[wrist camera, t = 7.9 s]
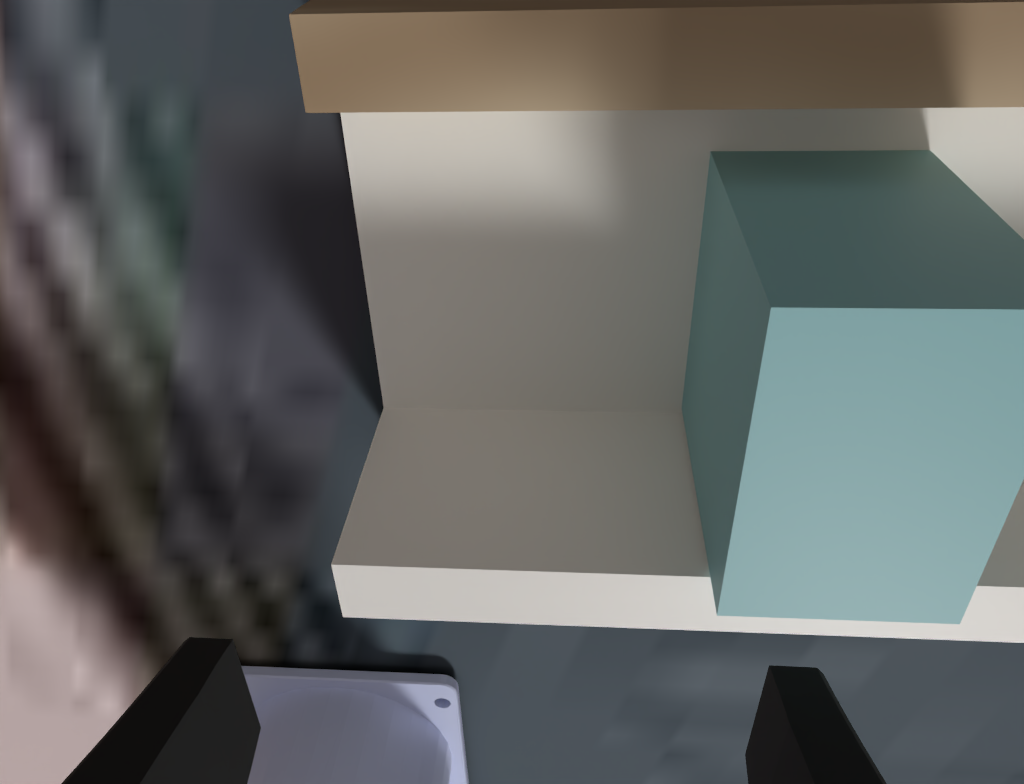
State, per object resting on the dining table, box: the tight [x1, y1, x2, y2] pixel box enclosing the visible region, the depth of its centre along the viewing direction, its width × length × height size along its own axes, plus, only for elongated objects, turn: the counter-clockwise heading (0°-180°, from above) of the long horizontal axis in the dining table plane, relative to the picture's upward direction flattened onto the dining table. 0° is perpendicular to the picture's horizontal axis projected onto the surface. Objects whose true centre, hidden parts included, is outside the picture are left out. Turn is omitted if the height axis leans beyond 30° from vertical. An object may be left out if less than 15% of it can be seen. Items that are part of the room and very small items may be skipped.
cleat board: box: [289, 0, 1024, 643], centre depth 15 cm, size 11×18×6 cm, turn 92°
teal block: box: [682, 150, 1024, 624], centre depth 14 cm, size 6×4×6 cm, turn 2°
